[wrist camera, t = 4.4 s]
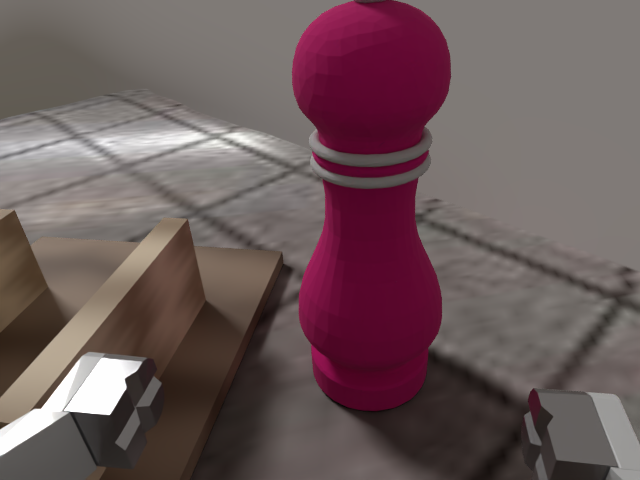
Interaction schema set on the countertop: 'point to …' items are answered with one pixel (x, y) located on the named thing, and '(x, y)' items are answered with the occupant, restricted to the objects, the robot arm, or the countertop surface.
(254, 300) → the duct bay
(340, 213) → the pepper mill
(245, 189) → the countertop surface
